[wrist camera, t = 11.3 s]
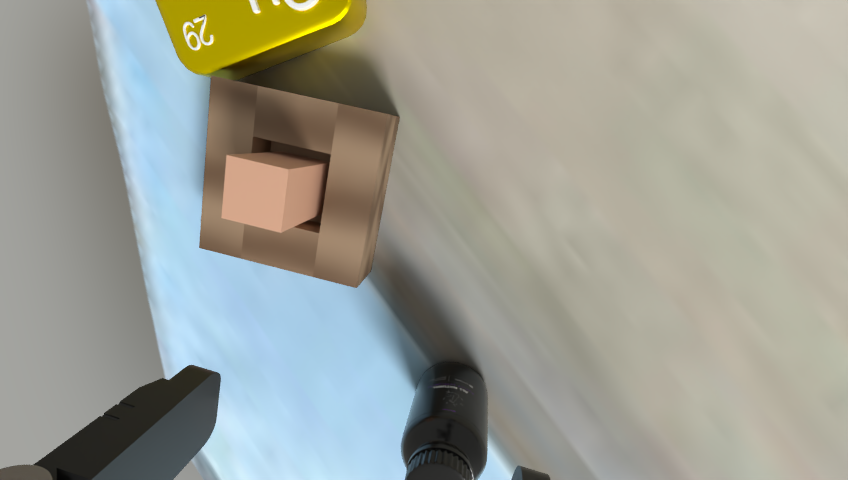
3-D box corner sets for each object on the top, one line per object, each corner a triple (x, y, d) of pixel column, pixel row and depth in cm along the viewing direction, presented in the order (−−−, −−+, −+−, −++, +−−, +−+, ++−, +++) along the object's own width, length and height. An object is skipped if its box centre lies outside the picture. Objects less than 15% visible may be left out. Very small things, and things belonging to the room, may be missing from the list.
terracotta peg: (282, 151, 35) (226, 154, 28) (331, 162, 35) (288, 169, 27) (276, 201, 36) (221, 217, 29) (324, 212, 36) (280, 232, 28)
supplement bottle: (464, 347, 39) (456, 435, 27) (500, 404, 40) (507, 513, 28) (403, 377, 41) (372, 472, 29) (440, 431, 41) (423, 544, 30)
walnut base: (243, 83, 36) (211, 75, 31) (399, 117, 35) (387, 113, 30) (230, 235, 39) (199, 247, 35) (370, 271, 38) (356, 287, 34)
